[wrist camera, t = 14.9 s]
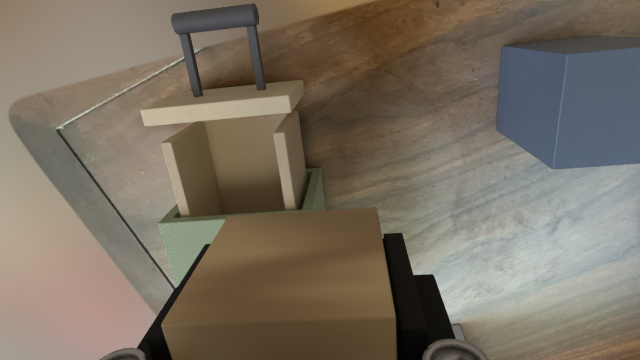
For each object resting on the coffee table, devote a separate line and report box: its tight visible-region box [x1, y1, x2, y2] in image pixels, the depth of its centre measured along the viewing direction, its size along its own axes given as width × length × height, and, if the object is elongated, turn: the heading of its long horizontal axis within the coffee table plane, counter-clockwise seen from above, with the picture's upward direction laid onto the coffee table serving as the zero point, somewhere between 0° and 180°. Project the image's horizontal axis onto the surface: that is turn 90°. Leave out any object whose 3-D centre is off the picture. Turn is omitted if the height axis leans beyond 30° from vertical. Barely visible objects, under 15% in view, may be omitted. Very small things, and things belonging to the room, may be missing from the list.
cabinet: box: [158, 167, 326, 287], centre depth 34 cm, size 15×12×10 cm
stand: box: [497, 36, 640, 169], centre depth 27 cm, size 7×7×10 cm
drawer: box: [140, 4, 308, 218], centre depth 30 cm, size 19×10×8 cm, turn 6°
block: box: [161, 207, 397, 360], centre depth 10 cm, size 4×4×4 cm
